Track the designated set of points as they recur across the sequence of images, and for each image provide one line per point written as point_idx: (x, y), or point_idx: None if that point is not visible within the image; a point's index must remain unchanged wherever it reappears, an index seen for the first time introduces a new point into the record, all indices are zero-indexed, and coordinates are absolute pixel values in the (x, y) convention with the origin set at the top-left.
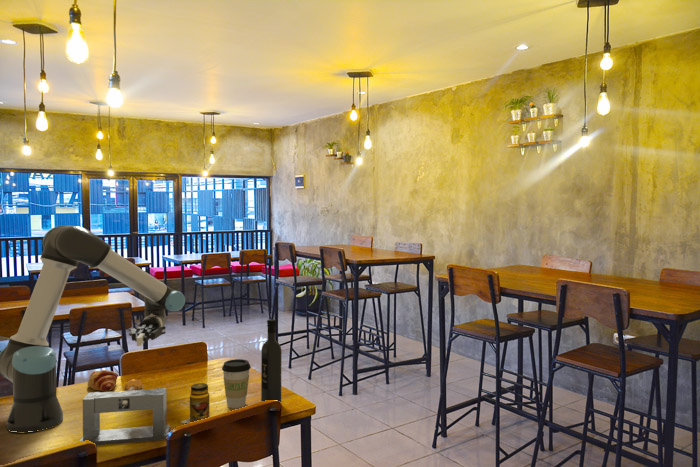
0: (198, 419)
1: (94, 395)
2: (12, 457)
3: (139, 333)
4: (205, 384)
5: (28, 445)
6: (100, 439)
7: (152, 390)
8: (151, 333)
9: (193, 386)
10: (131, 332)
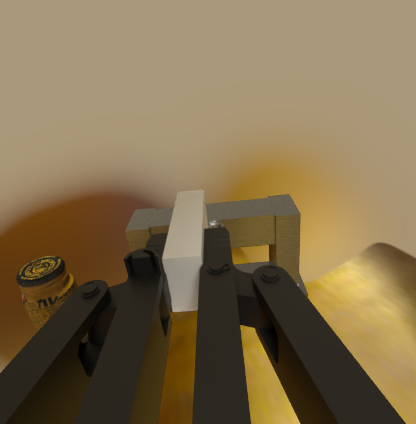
0: None
1: (276, 205)
2: (380, 245)
3: (209, 265)
4: (21, 272)
5: (395, 272)
6: (259, 266)
7: (156, 221)
8: (103, 284)
9: (56, 264)
10: (336, 342)
